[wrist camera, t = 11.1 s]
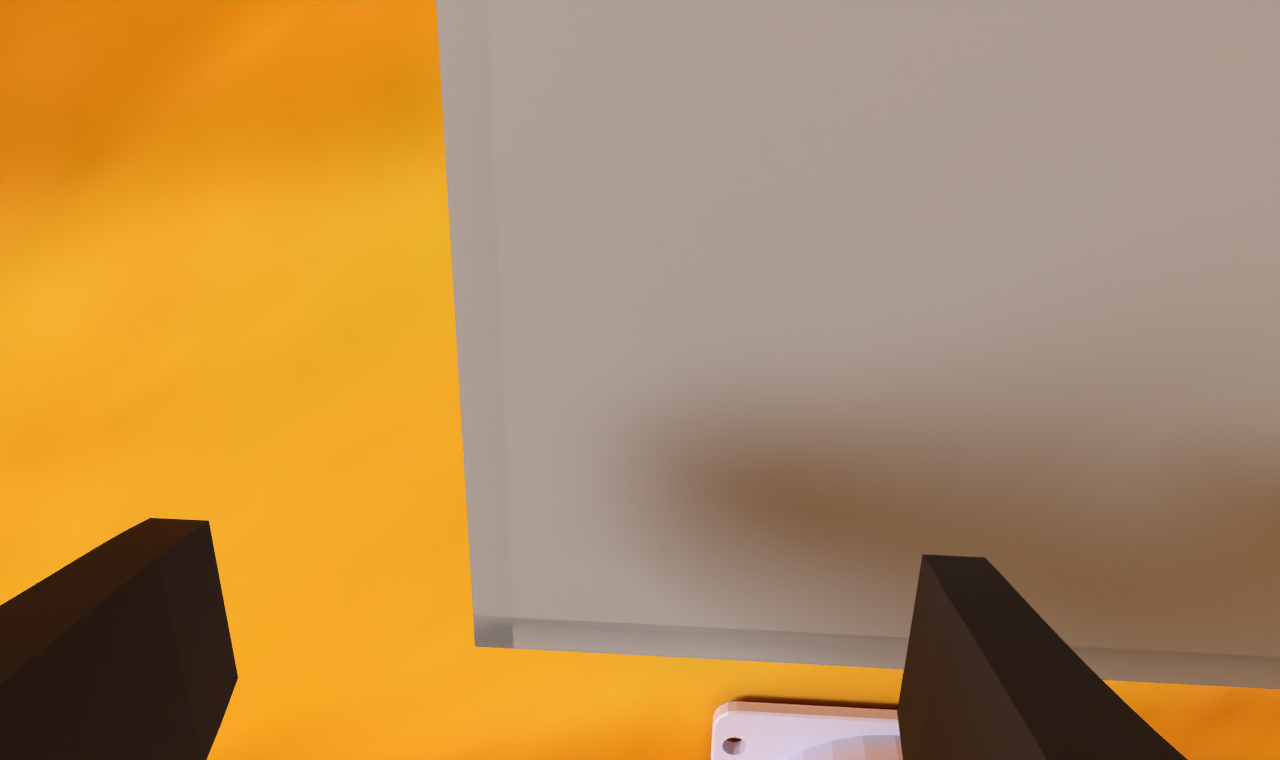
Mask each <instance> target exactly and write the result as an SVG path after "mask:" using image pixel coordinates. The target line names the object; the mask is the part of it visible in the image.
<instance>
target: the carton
mask: <svg viewBox="0 0 1280 760" xmlns="http://www.w3.org/2000/svg"><path fill="white" fill-rule="evenodd" d="M436 5H437V22H438V38H439V55H440V71H441V88H442V105H443V121H444V138H445V154H446V171H447V187H448V204H449V220H450V237H451V253H452V270H453V286H454V303H455V320H456V336H457V353H458V369H459V386H460V402H461V419H462V435H463V452H464V468H465V485H466V501H467V518H468V535H469V551H470V568H471V584H472V601H473V617H474V634H475V646H478V647H497V648H515V649H534V650H553V651H572V652H591V653H610V654H628V655H647V656H666V657H685V658H704V659H723V660H741V661H760V662H779V663H798V664H817V665H836V666H855V667H873V668H892V669H904V667H905V661H906V654H907V648H908V642H909V636H910V629H911V623H912V617H913V610H914V604H915V598H916V592H917V585H918V579H919V573H920V566H921V560H922V554H925V555H946V556H967V557H985V558H986V559H987V560H988V561H989V562H990V563H991V564H992V565H993V566H994V567H995V568H996V569H997V570H998V571H999V572H1000V573H1001V575H1002V576H1003V577H1004V578H1005V579H1006V580H1007V581H1008V582H1009V583H1010V584H1011V585H1012V586H1013V587H1014V589H1015V590H1016V591H1017V592H1018V593H1019V594H1020V595H1021V596H1022V597H1023V598H1024V599H1025V600H1026V601H1027V603H1028V604H1029V605H1030V606H1031V607H1032V608H1033V609H1034V610H1035V611H1036V612H1037V613H1038V614H1039V615H1040V616H1041V618H1042V619H1043V620H1044V621H1045V622H1046V623H1047V624H1048V625H1049V626H1050V627H1051V628H1052V629H1053V630H1054V631H1055V632H1056V633H1057V634H1058V635H1059V637H1060V638H1061V639H1062V640H1063V641H1064V642H1065V643H1066V644H1067V645H1068V646H1069V647H1070V648H1071V649H1072V650H1073V651H1074V652H1075V653H1076V654H1077V655H1078V656H1079V657H1080V658H1081V659H1082V660H1083V661H1084V662H1085V663H1086V664H1087V665H1088V666H1089V667H1090V668H1091V669H1092V670H1093V671H1094V672H1095V673H1096V674H1097V675H1098V676H1099V677H1100V678H1101V679H1102V680H1118V681H1137V682H1156V683H1175V684H1194V685H1212V686H1231V687H1250V688H1269V689H1280V0H436Z"/></svg>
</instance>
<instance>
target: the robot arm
mask: <svg viewBox="0 0 1280 760" xmlns="http://www.w3.org/2000/svg"><path fill="white" fill-rule="evenodd" d="M237 679H238V676H237V670H236V665H235V659H234V654H233V649H232V643H231V638H230V633H229V627H228V622H227V617H226V611H225V606H224V601H223V595H222V590H221V584H220V579H219V574H218V568H217V563H216V558H215V552H214V547H213V542H212V536H211V531H210V525H209V521H202V520H181V519H159V518H150V519H148V520H146V521H144V522H142V523H140V524H138V525H136V526H134V527H132V528H130V529H128V530H126V531H124V532H123V533H121V534H119V535H117V536H116V537H114V538H112V539H110V540H109V541H107V542H105V543H103V544H102V545H100V546H98V547H97V548H95V549H93V550H92V551H90V552H88V553H87V554H85V555H83V556H82V557H80V558H78V559H77V560H75V561H73V562H72V563H70V564H68V565H67V566H65V567H63V568H62V569H60V570H59V571H57V572H55V573H54V574H52V575H50V576H49V577H47V578H45V579H44V580H42V581H40V582H39V583H37V584H35V585H34V586H32V587H31V588H29V589H27V590H26V591H24V592H22V593H21V594H19V595H17V596H16V597H14V598H12V599H11V600H9V601H7V602H6V603H4V604H2V605H1V606H0V760H206V759H207V757H208V754H209V752H210V749H211V747H212V745H213V742H214V740H215V737H216V735H217V732H218V730H219V727H220V725H221V722H222V719H223V717H224V714H225V711H226V709H227V706H228V703H229V700H230V698H231V695H232V692H233V690H234V687H235V684H236V682H237ZM733 737H736V738H740V739H742V740H741V741H739V742H730V741H727V739H728V738H733ZM710 760H1187V759H1186V758H1185V757H1184V756H1183V755H1182V754H1180V753H1179V752H1178V751H1177V750H1176V749H1175V748H1174V747H1173V746H1171V745H1170V744H1169V743H1168V742H1167V741H1166V740H1165V739H1164V738H1162V737H1161V736H1160V735H1159V734H1158V733H1157V732H1156V731H1155V730H1153V729H1152V728H1151V727H1150V726H1149V725H1148V724H1147V723H1146V722H1145V721H1144V720H1143V719H1142V718H1141V717H1140V716H1139V715H1138V714H1137V713H1135V712H1134V711H1133V710H1132V709H1131V708H1130V707H1129V706H1128V705H1127V704H1126V703H1125V702H1124V701H1123V700H1122V699H1121V698H1120V697H1119V696H1118V695H1117V694H1116V693H1115V692H1114V691H1113V690H1112V689H1111V688H1110V687H1109V686H1107V685H1106V684H1105V683H1104V682H1103V680H1102V679H1101V678H1100V677H1099V676H1098V675H1097V674H1096V673H1095V672H1094V671H1093V670H1092V669H1091V668H1090V667H1089V666H1088V665H1087V664H1086V663H1085V662H1084V661H1083V660H1082V659H1081V658H1080V657H1079V656H1078V655H1077V654H1076V653H1075V652H1074V651H1073V650H1072V649H1071V648H1070V647H1069V646H1068V645H1067V644H1066V643H1065V642H1064V641H1063V640H1062V639H1061V638H1060V637H1059V635H1058V634H1057V633H1056V632H1055V631H1054V630H1053V629H1052V628H1051V627H1050V626H1049V625H1048V624H1047V623H1046V622H1045V621H1044V620H1043V619H1042V618H1041V616H1040V615H1039V614H1038V613H1037V612H1036V611H1035V610H1034V609H1033V608H1032V607H1031V606H1030V605H1029V604H1028V603H1027V601H1026V600H1025V599H1024V598H1023V597H1022V596H1021V595H1020V594H1019V593H1018V592H1017V591H1016V590H1015V589H1014V587H1013V586H1012V585H1011V584H1010V583H1009V582H1008V581H1007V580H1006V579H1005V578H1004V577H1003V576H1002V575H1001V573H1000V572H999V571H998V570H997V569H996V568H995V567H994V566H993V565H992V564H991V563H990V562H989V561H988V560H987V559H986V558H985V557H967V556H946V555H925V554H922V560H921V566H920V573H919V579H918V585H917V592H916V598H915V604H914V610H913V617H912V623H911V629H910V636H909V642H908V648H907V654H906V661H905V667H904V673H903V680H902V686H901V692H900V698H899V705H898V710H887V709H868V708H850V707H832V706H814V705H795V704H777V703H759V702H741V701H734V702H727V703H725V704H722V705H720V706H719V707H718V708H717V709H716V710H715V713H714V716H713V726H712V742H711V759H710Z"/></svg>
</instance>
